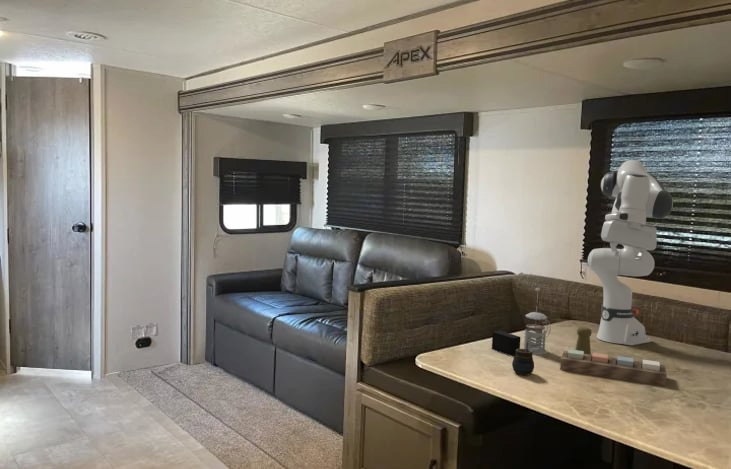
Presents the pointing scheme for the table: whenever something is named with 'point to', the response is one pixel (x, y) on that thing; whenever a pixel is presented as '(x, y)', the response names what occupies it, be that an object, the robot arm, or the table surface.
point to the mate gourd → (523, 361)
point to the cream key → (651, 365)
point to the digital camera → (505, 342)
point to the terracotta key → (600, 357)
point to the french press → (538, 335)
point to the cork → (583, 340)
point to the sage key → (575, 354)
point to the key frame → (614, 369)
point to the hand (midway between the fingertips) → (626, 258)
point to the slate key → (624, 361)
